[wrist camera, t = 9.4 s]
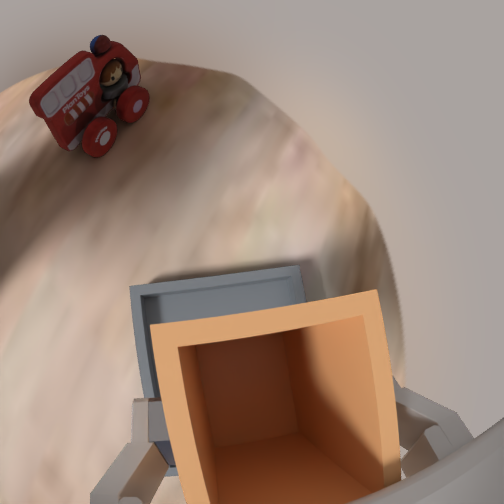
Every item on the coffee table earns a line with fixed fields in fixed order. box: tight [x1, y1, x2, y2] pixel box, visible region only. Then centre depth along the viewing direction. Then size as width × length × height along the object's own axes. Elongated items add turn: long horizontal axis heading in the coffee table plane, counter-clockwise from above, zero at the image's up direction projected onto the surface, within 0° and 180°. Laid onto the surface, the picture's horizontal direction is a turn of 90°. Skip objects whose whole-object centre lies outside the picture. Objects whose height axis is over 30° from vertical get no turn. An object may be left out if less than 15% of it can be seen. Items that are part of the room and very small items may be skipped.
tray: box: [129, 265, 306, 477], centre depth 24 cm, size 16×14×2 cm
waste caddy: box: [150, 289, 401, 504], centre depth 10 cm, size 6×5×9 cm
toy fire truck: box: [29, 35, 149, 157], centre depth 25 cm, size 7×12×10 cm, turn 150°
